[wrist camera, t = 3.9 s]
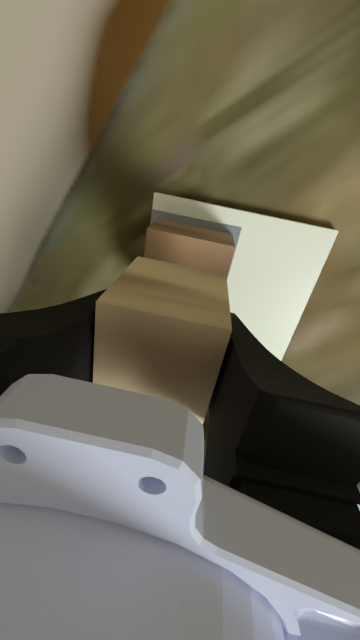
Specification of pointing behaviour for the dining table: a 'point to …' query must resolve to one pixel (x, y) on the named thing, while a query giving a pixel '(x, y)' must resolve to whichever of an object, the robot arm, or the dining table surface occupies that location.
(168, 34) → the dining table surface
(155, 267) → the maple pillar
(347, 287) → the dining table surface
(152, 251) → the walnut base
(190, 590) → the robot arm
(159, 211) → the cream flat slab
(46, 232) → the dining table surface
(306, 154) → the dining table surface
